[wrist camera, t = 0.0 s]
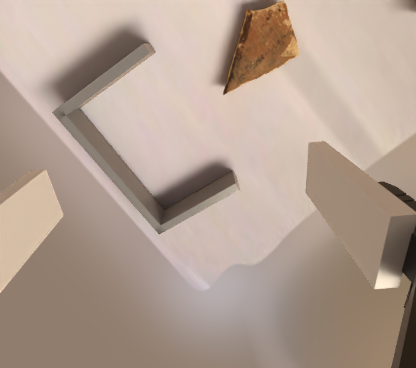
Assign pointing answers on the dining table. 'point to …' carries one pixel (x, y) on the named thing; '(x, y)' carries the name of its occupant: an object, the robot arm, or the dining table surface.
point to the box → (117, 167)
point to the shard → (262, 45)
